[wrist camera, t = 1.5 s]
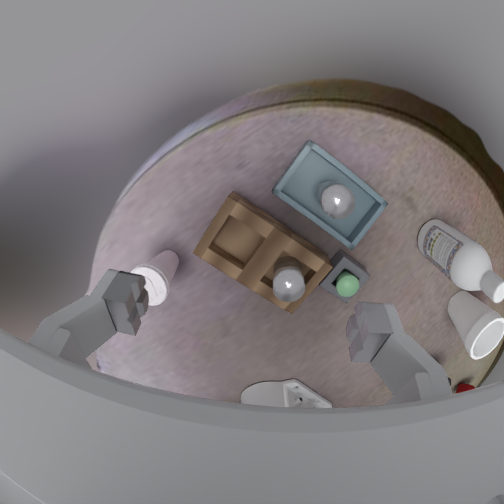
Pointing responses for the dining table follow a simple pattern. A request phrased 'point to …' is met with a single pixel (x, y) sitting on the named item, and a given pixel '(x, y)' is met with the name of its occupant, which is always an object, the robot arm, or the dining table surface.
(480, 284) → the bath foam
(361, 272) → the button housing
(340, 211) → the billet
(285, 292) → the billet seated
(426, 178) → the dining table surface
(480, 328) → the foam cup
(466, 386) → the strawberry
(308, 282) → the brown wooden tray
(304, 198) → the tray
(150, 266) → the smoothie
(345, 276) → the button
